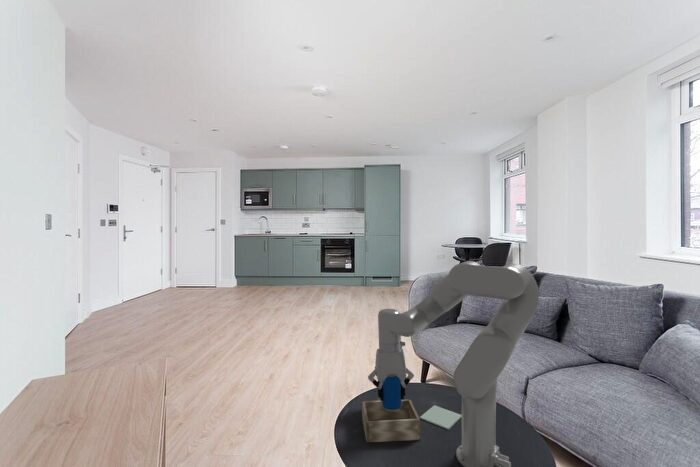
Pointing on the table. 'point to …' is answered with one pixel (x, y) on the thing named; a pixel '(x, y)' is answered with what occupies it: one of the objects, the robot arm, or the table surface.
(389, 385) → the beverage can
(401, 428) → the box
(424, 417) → the green mat
